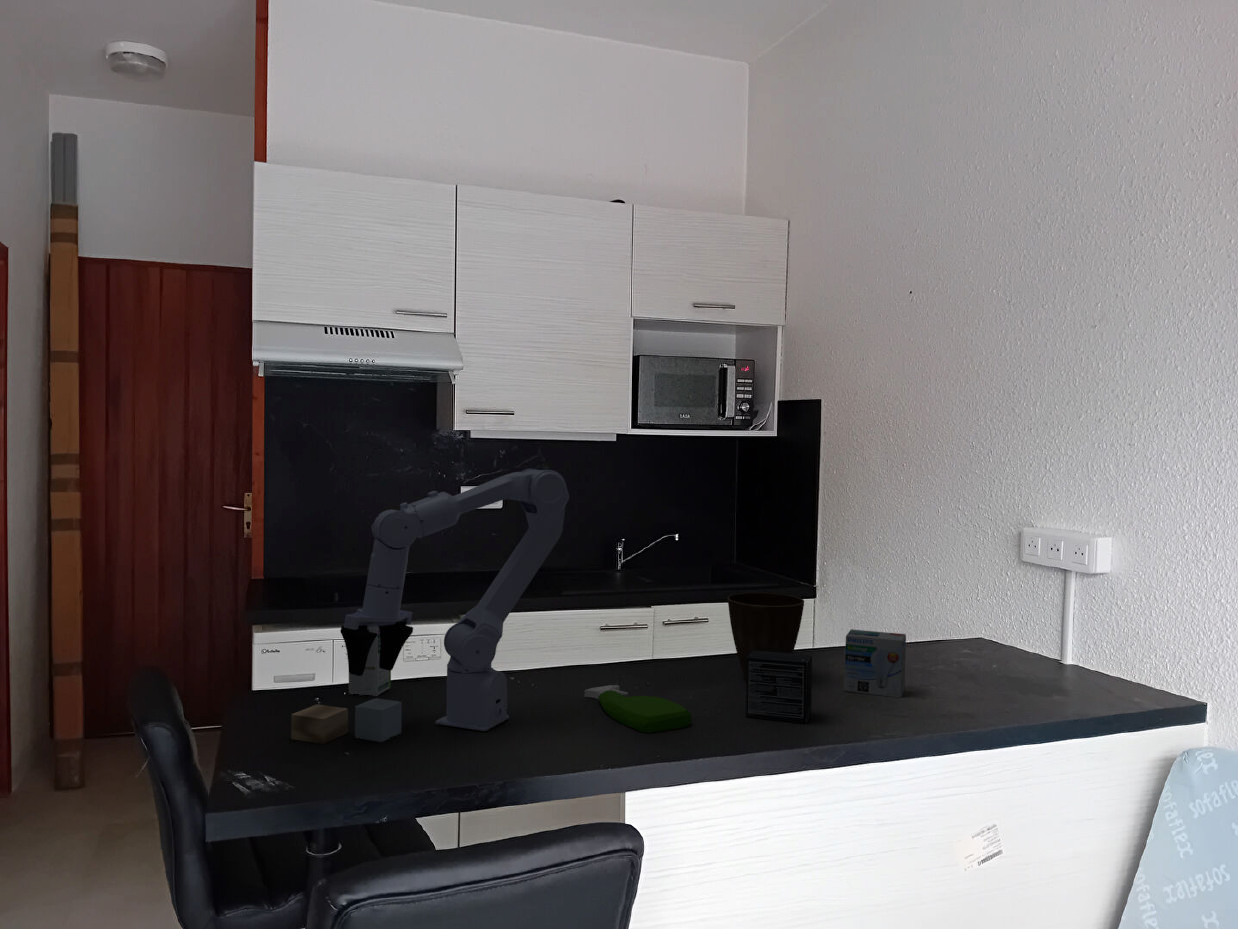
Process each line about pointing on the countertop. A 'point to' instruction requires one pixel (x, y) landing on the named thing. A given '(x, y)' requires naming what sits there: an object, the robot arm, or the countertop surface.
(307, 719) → the oak block
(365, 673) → the syrup box
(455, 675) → the robot arm
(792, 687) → the small box
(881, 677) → the light bulb box
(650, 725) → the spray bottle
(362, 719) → the blue-grey cube
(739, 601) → the plant pot
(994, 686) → the countertop surface
